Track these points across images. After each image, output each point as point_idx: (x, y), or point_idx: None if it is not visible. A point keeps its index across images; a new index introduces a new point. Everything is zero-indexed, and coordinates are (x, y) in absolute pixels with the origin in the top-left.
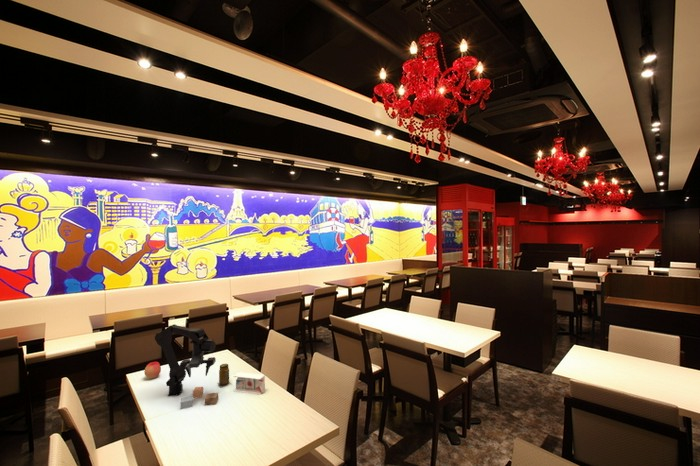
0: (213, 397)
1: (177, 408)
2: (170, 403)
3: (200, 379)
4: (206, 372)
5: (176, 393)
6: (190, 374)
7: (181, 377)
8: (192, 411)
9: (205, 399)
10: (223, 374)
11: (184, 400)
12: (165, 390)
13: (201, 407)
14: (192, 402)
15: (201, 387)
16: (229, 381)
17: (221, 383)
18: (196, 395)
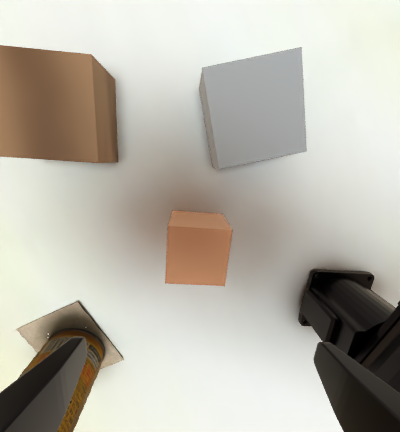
0: (5, 55)
1: None
2: (347, 181)
3: (226, 410)
4: (10, 399)
5: (331, 281)
6: (339, 394)
7: (397, 384)
8: (182, 3)
9: (85, 57)
10: None
11: (272, 79)
12: None
13: (129, 52)
14: (201, 77)
15: (175, 269)
16: None
17: None
18: (202, 216)
